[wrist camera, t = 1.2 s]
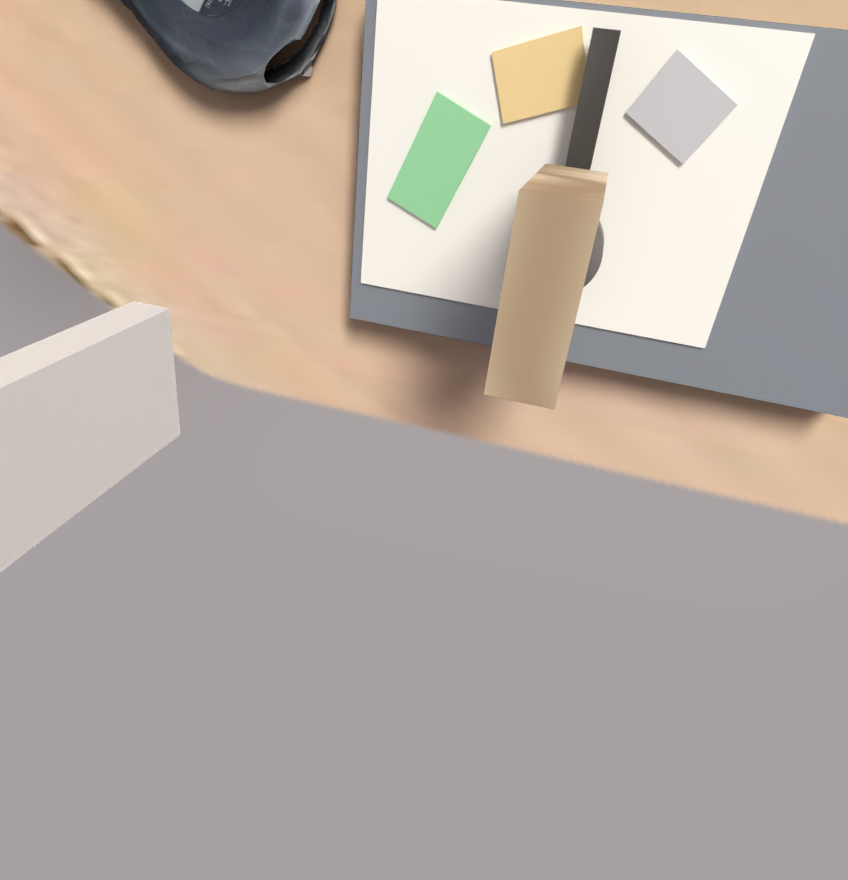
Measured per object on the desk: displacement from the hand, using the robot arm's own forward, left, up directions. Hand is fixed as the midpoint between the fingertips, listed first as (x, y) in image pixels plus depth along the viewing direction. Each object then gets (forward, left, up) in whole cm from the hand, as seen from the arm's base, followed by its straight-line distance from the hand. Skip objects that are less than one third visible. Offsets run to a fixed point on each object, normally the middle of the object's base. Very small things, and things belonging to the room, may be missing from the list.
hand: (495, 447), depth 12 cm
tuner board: (-1, +2, -19) cm, 19 cm away
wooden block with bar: (-2, +1, -17) cm, 17 cm away
